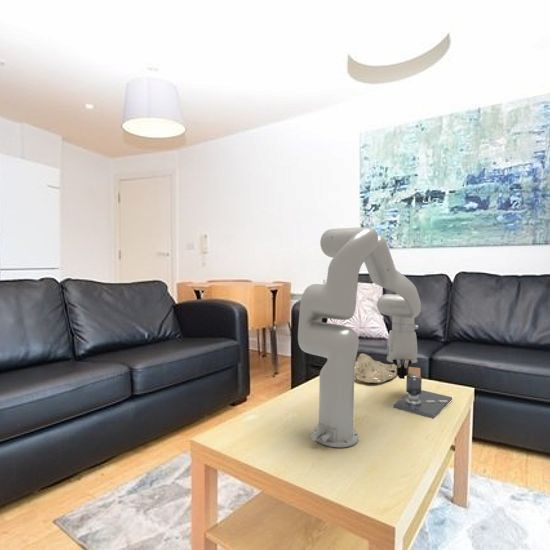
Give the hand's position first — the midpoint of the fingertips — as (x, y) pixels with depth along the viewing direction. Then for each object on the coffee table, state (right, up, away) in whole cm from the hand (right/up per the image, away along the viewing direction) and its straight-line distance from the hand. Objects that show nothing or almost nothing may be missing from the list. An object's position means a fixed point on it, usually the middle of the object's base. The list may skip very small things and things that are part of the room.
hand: (401, 377), depth 140 cm
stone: (-3, -6, +23) cm, 24 cm away
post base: (+5, -7, -8) cm, 12 cm away
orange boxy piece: (+3, -2, -5) cm, 6 cm away
